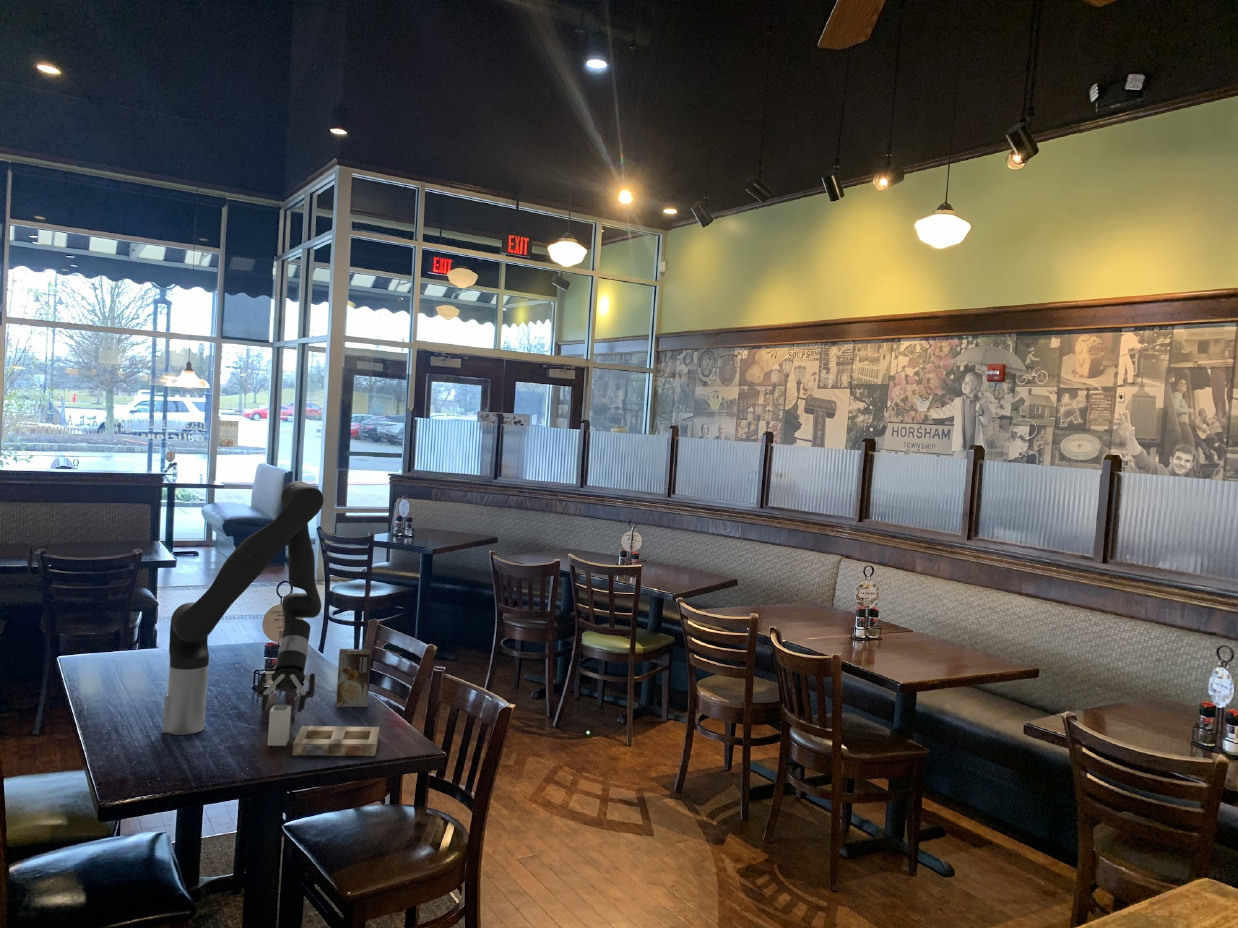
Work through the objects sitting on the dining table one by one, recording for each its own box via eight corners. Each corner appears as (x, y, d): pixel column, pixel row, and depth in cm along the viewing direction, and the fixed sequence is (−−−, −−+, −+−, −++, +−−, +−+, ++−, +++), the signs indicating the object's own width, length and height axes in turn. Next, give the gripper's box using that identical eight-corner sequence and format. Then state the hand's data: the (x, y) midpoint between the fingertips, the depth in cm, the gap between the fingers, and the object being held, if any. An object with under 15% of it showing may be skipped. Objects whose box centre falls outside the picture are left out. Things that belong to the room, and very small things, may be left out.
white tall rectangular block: (267, 745, 223) (269, 708, 223) (270, 739, 227) (273, 703, 227) (285, 745, 224) (288, 708, 224) (288, 739, 228) (291, 703, 228)
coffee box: (367, 700, 265) (371, 648, 265) (367, 707, 259) (371, 653, 259) (336, 700, 263) (339, 648, 262) (335, 707, 257) (338, 653, 256)
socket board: (292, 755, 217) (293, 744, 217) (301, 737, 231) (301, 725, 231) (374, 756, 221) (375, 744, 221) (378, 737, 235) (379, 726, 234)
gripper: (263, 648, 234) (251, 703, 223) (318, 649, 237) (309, 704, 226) (266, 662, 239) (254, 717, 229) (320, 663, 242) (311, 717, 231)
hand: (282, 710), depth 227 cm, fingers open, 8 cm apart
